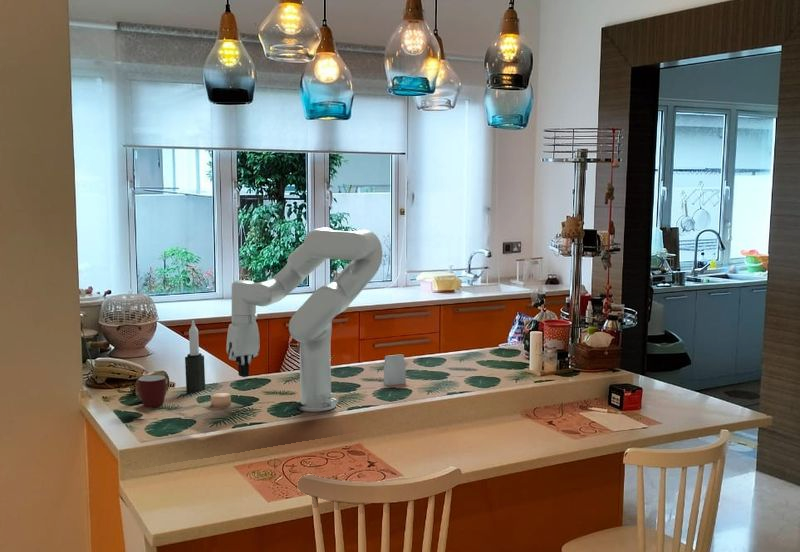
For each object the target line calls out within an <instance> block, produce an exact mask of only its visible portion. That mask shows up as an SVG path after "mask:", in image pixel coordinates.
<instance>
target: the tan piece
mask: <svg viewBox="0 0 800 552" xmlns="http://www.w3.org/2000/svg"><path fill="white" fill-rule="evenodd" d="M199 407H201V408H205V409H208V410H212V411H207V412H205V413H201V414H197V415H193V416H191V415H190V414H189V415H188V414H185V413H183V412H182V411H186V410H190V409H195V408H199ZM242 407H245V404H244V405H243V404H240V403H235V402H233V401H231V405H230V406H227V407H219V408H218V407H212V406H211V400H209V401H204V402H200V403H197V404H192V405H188V406H184V407H180V408H176V409H173V410H170V412H171V413H174V414H177V415H180V416H184V417H187V418H190V419H193V420H196V419H200V418H205V417H207V416H211V415H216V414H219V413H222V412H226V411H230V410H233V409H234V410H235V409H239V408H242Z"/></svg>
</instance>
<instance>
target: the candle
mask: <svg viewBox="0 0 800 552" xmlns="http://www.w3.org/2000/svg"><path fill="white" fill-rule="evenodd" d="M188 335H189V336H188V339H189V341H188V342H189V343H188V344H189V353H187V356H185V357H184V365H185V368H184V369H185V391H186V395H187V394H193V393H199V392H202V391H205V390H206V371H205V355H203V354H202V353H200V352H199V351H200V348H199V347H200V346H199V342H200V341H199V330H198V328H197V326H196V324H195V320H194V319H193V320H191V326H190V328H189V330H188Z"/></svg>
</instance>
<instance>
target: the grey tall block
mask: <svg viewBox="0 0 800 552" xmlns="http://www.w3.org/2000/svg"><path fill="white" fill-rule="evenodd" d="M405 362H406V361H405V355H404V353H403V354H393V355H391V354H390V355H385V356H384V363H383V384H385V386H393V385H394V386H395V385H405V384H407V381H406V380H407V379H406V377H407V375H406V373H407V372H406V370H407V369H406V363H405Z"/></svg>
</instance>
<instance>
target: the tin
mask: <svg viewBox="0 0 800 552" xmlns="http://www.w3.org/2000/svg"><path fill="white" fill-rule="evenodd" d="M151 375H161V376H165V377H166V390H165V395H166V394H167V393H168V391H169V388H170V377H169V375H168V373H167V372H166V371H165V370H154V371H152V372H149V373H147V374H144V375H140V376H139V377H138V378H137V380H136V381H135V382H134V383H135V384H134V393H135V397H136V399H137V400H139V401H141V402H142V399H141V394H140V390H139V378H141V377H145V376H151Z"/></svg>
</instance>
